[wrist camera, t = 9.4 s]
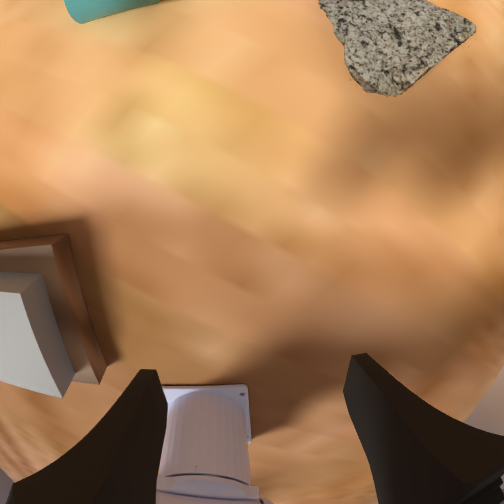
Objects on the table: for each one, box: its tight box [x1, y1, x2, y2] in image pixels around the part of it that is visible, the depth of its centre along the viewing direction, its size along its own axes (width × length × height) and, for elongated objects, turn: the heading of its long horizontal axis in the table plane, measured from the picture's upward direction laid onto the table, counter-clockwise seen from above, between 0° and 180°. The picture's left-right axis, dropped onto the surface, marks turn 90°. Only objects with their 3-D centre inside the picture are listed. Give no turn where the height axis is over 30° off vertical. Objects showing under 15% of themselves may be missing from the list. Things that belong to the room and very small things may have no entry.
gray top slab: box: [0, 272, 75, 398], centre depth 16 cm, size 9×9×3 cm
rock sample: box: [318, 0, 476, 97], centre depth 12 cm, size 10×8×9 cm
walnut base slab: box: [0, 234, 107, 384], centre depth 19 cm, size 12×12×3 cm
